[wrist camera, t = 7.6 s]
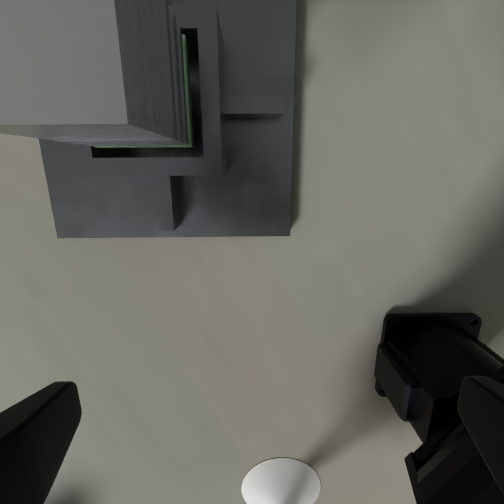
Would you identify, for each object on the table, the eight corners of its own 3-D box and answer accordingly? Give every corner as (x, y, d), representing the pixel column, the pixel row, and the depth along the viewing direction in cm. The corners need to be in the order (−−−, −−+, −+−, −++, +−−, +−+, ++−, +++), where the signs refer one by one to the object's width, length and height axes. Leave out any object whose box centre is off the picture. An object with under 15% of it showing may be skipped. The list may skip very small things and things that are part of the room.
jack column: (189, 43, 13) (103, -131, 5) (195, 147, 14) (132, 127, 6) (89, 43, 13) (-141, -132, 5) (104, 148, 14) (-67, 128, 6)
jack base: (295, -38, 15) (313, -117, 11) (287, 232, 19) (299, 252, 15) (18, -37, 15) (-73, -117, 11) (67, 234, 19) (14, 254, 15)
